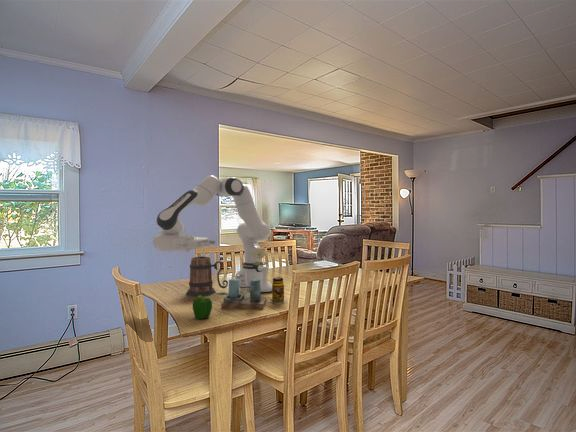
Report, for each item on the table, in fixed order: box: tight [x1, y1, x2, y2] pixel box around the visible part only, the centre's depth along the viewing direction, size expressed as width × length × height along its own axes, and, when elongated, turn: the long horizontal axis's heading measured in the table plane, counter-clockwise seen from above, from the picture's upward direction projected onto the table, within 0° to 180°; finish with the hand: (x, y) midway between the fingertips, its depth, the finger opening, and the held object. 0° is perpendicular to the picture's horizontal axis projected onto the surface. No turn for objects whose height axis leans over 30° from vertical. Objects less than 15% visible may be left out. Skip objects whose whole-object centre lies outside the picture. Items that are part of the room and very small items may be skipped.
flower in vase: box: [252, 247, 272, 293], centre depth 191 cm, size 13×11×25 cm
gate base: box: [220, 279, 267, 310], centre depth 162 cm, size 20×10×12 cm, turn 86°
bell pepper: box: [192, 295, 213, 320], centre depth 144 cm, size 8×8×10 cm
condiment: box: [266, 276, 288, 305], centre depth 170 cm, size 7×8×12 cm
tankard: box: [185, 256, 229, 298], centre depth 189 cm, size 24×17×20 cm
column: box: [228, 278, 240, 298], centre depth 162 cm, size 5×5×10 cm
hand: (212, 243), depth 168 cm, fingers open, 8 cm apart
